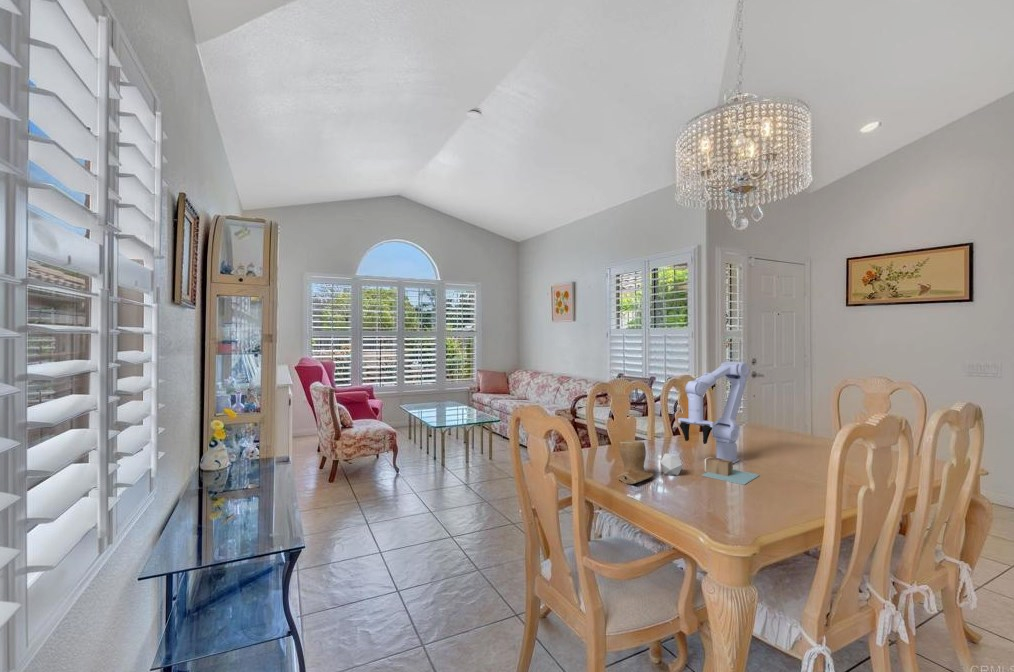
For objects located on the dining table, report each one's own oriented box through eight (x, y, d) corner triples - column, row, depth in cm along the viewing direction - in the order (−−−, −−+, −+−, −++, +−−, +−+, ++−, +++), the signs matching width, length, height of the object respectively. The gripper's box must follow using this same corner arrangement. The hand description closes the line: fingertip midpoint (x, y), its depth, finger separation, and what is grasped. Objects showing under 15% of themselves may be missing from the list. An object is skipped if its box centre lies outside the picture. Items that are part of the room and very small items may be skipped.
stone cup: (630, 472, 190) (630, 435, 190) (657, 478, 181) (657, 440, 181) (608, 480, 179) (608, 441, 179) (635, 487, 171) (635, 446, 171)
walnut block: (709, 456, 192) (732, 460, 186) (710, 468, 192) (732, 473, 186) (704, 459, 189) (727, 463, 182) (704, 471, 189) (727, 476, 182)
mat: (718, 467, 195) (718, 466, 195) (759, 475, 184) (759, 474, 184) (701, 475, 184) (701, 474, 184) (744, 484, 172) (744, 484, 172)
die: (684, 474, 189) (671, 452, 193) (689, 469, 181) (676, 446, 186) (666, 482, 188) (653, 460, 192) (671, 477, 180) (657, 454, 185)
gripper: (674, 409, 198) (674, 440, 198) (709, 412, 188) (709, 446, 188) (682, 407, 203) (682, 438, 203) (716, 410, 193) (716, 443, 193)
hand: (695, 442), depth 196 cm, fingers open, 7 cm apart
